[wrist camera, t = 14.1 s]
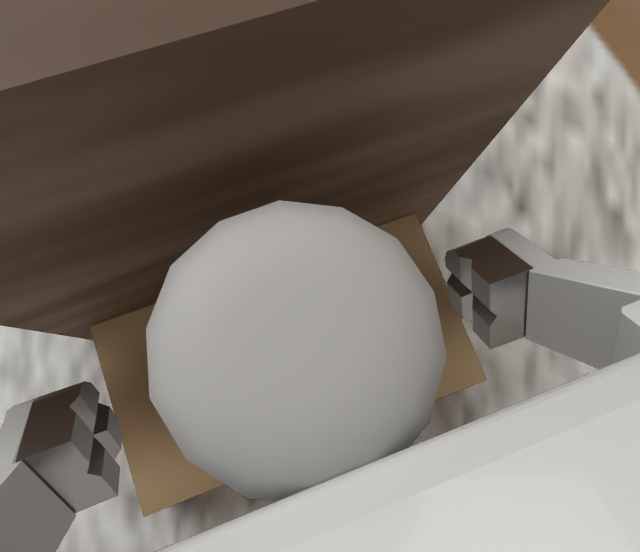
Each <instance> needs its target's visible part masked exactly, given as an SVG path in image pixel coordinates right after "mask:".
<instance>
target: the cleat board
mask: <svg viewBox="0 0 640 552" xmlns="http://www.w3.org/2000/svg"><path fill="white" fill-rule="evenodd" d="M608 2H609V0H0V325H2V326H8V327H15V328H21V329H27V330H33V331H40V332H46V333H52V334H58V335H65V336H71V337H77V338H83V339H90V340H93V339H94V343H95V346H96V350H97V353H98V357H99V361H100V364H101V368H102V371H103V375H104V378H105V382H106V385H107V389H108V392H109V396H110V400H111V403H112V407H113V410H114V414H115V416H116V418H117V420H118V422H119V425H120V430H121V435H122V442H123V446H124V449H125V453H126V456H127V460H128V463H129V467H130V471H131V474H132V478H133V481H134V485H135V488H136V492H137V495H138V499H139V503H140V506H141V510H142V513H143V517H145V516H147V515H150V514H152V513H155V512H157V511H160V510H162V509H165V508H167V507H170V506H172V505H175V504H177V503H180V502H182V501H185V500H187V499H190V498H192V497H195V496H197V495H200V494H202V493H205V492H207V491H210V490H212V489H215V488H217V487H220V486H222V485H225V484H223V483H222V482H220V481H219V480H217V479H216V478H214V477H213V476H211V475H209V474H208V473H206V472H205V471H203V470H202V469H200V468H199V467H197V466H196V465H194V464H193V463H191V462H190V461H188V460H186V458H185V457H184V455H183V453H182V452H181V450H180V448H179V447H178V445H177V443H176V442H175V440H174V438H173V437H172V435H171V433H170V432H169V430H168V428H167V427H166V425H165V423H164V422H163V420H162V418H161V417H160V415H159V413H158V412H157V410H156V408H155V407H154V405H153V403H152V402H151V400H150V398H149V379H148V360H147V341H146V327H147V325H148V322H149V320H150V317H151V314H152V312H153V309H154V307H155V304H156V302H157V299H158V296H159V294H160V291H161V289H162V286H163V284H164V281H165V278H166V276H167V273H168V271H169V268H170V266H171V265H172V264H173V263H174V262H175V261H176V260H177V259H178V258H180V257H181V256H182V255H183V254H184V253H185V252H186V251H187V250H188V249H189V248H190V247H192V246H193V245H194V244H195V243H196V242H197V241H198V240H199V239H200V238H201V237H202V236H204V235H205V234H206V233H207V232H208V231H209V230H210V229H211V228H212V227H213V226H214V225H216V224H217V223H218V222H219V221H222V220H224V219H227V218H230V217H233V216H236V215H239V214H242V213H244V212H247V211H250V210H253V209H256V208H259V207H262V206H264V205H267V204H270V203H273V202H276V201H279V200H281V201H290V202H299V203H308V204H317V205H326V206H335V207H343V208H344V209H346V210H348V211H350V212H351V213H353V214H355V215H357V216H358V217H360V218H362V219H364V220H366V221H367V222H369V223H371V224H373V225H374V226H376V227H378V228H380V229H381V230H383V231H385V232H387V233H389V234H390V235H392V236H394V237H396V238H397V239H398V240H399V242H400V243H401V244H402V246H403V247H404V249H405V250H406V252H407V253H408V255H409V256H410V257H411V259H412V260H413V262H414V263H415V265H416V266H417V268H418V269H419V270H420V272H421V273H422V275H423V276H424V278H425V279H426V281H427V282H428V283H429V285H430V286H431V288H432V289H433V291H434V293H435V299H436V304H437V309H438V314H439V319H440V324H441V329H442V334H443V339H444V344H445V349H446V354H447V359H446V362H445V366H444V370H443V373H442V377H441V381H440V384H439V388H438V391H437V395H436V399H435V400H437V399H440V398H442V397H445V396H447V395H450V394H452V393H455V392H457V391H460V390H462V389H465V388H467V387H470V386H472V385H475V384H477V383H480V382H482V381H485V380H487V379H486V377H485V375H484V372H483V370H482V368H481V365H480V363H479V361H478V358H477V356H476V354H475V351H474V349H473V347H472V344H471V342H470V340H469V337H468V335H467V333H466V330H465V328H464V326H463V323H462V321H461V319H460V316H459V314H458V313H457V312H456V310H455V308H454V307H453V305H452V303H451V300H450V297H449V294H448V288H447V286H446V283H445V281H444V279H443V276H442V274H441V272H440V269H439V267H438V265H437V262H436V260H435V258H434V255H433V253H432V251H431V248H430V246H429V244H428V241H427V239H426V236H425V234H424V232H423V229H422V227H421V225H420V224H422V223H423V222H424V221H425V220H426V218H427V217H428V216H429V215H430V214H431V212H432V211H433V210H434V209H435V208H436V206H437V205H438V204H439V203H440V202H441V200H442V199H443V198H444V197H445V196H446V195H447V193H448V192H449V191H450V190H451V189H452V187H453V186H454V185H455V184H456V183H457V181H458V180H459V179H460V178H461V177H462V175H463V174H464V173H465V172H466V171H467V170H468V168H469V167H470V166H471V165H472V164H473V162H474V161H475V160H476V159H477V158H478V156H479V155H480V154H481V153H482V152H483V150H484V149H485V148H486V147H487V146H488V145H489V143H490V142H491V141H492V140H493V139H494V137H495V136H496V135H497V134H498V133H499V131H500V130H501V129H502V128H503V127H504V126H505V124H506V123H507V122H508V121H509V120H510V118H511V117H512V116H513V115H514V114H515V112H516V111H517V110H518V109H519V108H520V106H521V105H522V104H523V103H524V102H525V101H526V99H527V98H528V97H529V96H530V95H531V93H532V92H533V91H534V90H535V89H536V87H537V86H538V85H539V84H540V83H541V81H542V80H543V79H544V78H545V77H546V76H547V74H548V73H549V72H550V71H551V70H552V68H553V67H554V66H555V65H556V64H557V62H558V61H559V60H560V59H561V58H562V56H563V55H564V54H565V53H566V52H567V51H568V49H569V48H570V47H571V46H572V45H573V43H574V42H575V41H576V40H577V39H578V37H579V36H580V35H581V34H582V33H583V32H584V30H585V29H586V28H587V27H588V26H589V24H590V23H591V22H592V21H593V20H594V18H595V17H596V16H597V15H598V13H599V12H600V11H601V10H602V9H603V8H604V6H605V5H606V4H607V3H608Z"/></svg>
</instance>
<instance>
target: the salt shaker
mask: <svg viewBox="0 0 640 552" xmlns="http://www.w3.org/2000/svg"><path fill="white" fill-rule="evenodd" d="M146 341H147V360H148V379H149V398H150V400H151V402H152V403H153V405H154V407H155V408H156V410H157V412H158V413H159V415H160V417H161V418H162V420H163V422H164V423H165V425H166V427H167V428H168V430H169V432H170V433H171V435H172V437H173V438H174V440H175V442H176V443H177V445H178V447H179V448H180V450H181V452H182V453H183V455H184V457H185V458H186V460H188V461H190V462H191V463H193V464H194V465H196V466H197V467H199V468H200V469H202V470H203V471H205V472H206V473H208V474H209V475H211V476H213V477H214V478H216V479H217V480H219V481H220V482H222V483H223V484H225V485H226V486H228V487H229V488H231V489H232V490H234V491H235V492H237V493H239V494H240V495H242V496H243V497H245V498H247V499H262V500H277V501H279V500H282V499H284V498H286V497H289V496H291V495H294V494H296V493H299V492H301V491H304V490H306V489H308V488H311V487H313V486H316V485H318V484H321V483H323V482H326V481H328V480H330V479H333V478H335V477H338V476H340V475H343V474H345V473H347V472H350V471H352V470H355V469H357V468H360V467H362V466H365V465H367V464H369V463H372V462H374V461H377V460H379V459H382V458H384V457H387V456H389V455H391V454H394V453H396V452H399V451H401V450H404V449H406V448H408V447H409V446H410V445H411V444H412V442H413V441H414V440H415V439H416V438H417V436H418V435H419V434H420V433H421V432H422V430H423V429H424V428H425V427H426V426H427V424H428V423H429V421H430V417H431V413H432V410H433V406H434V402H435V399H436V395H437V391H438V388H439V384H440V381H441V377H442V373H443V370H444V366H445V362H446V359H447V354H446V349H445V344H444V339H443V334H442V329H441V324H440V319H439V314H438V309H437V304H436V299H435V293H434V291H433V289H432V288H431V286H430V285H429V283H428V282H427V281H426V279H425V278H424V276H423V275H422V273H421V272H420V270H419V269H418V268H417V266H416V265H415V263H414V262H413V260H412V259H411V257H410V256H409V255H408V253H407V252H406V250H405V249H404V247H403V246H402V244H401V243H400V242H399V240H398V239H397V238H396V237H394V236H392V235H390V234H389V233H387V232H385V231H383V230H381V229H380V228H378V227H376V226H374V225H373V224H371V223H369V222H367V221H366V220H364V219H362V218H360V217H358V216H357V215H355V214H353V213H351V212H350V211H348V210H346V209H344V208H343V207H335V206H326V205H317V204H308V203H299V202H290V201H281V200H279V201H276V202H273V203H270V204H267V205H264V206H262V207H259V208H256V209H253V210H250V211H247V212H244V213H242V214H239V215H236V216H233V217H230V218H227V219H224V220H222V221H219V222H218V223H217V224H216V225H214V226H213V227H212V228H211V229H210V230H209V231H208V232H207V233H206V234H205V235H204V236H202V237H201V238H200V239H199V240H198V241H197V242H196V243H195V244H194V245H193V246H192V247H190V248H189V249H188V250H187V251H186V252H185V253H184V254H183V255H182V256H181V257H180V258H178V259H177V260H176V261H175V262H174V263H173V264H172V265H171V266H170V268H169V271H168V273H167V276H166V278H165V281H164V284H163V286H162V289H161V291H160V294H159V296H158V299H157V302H156V304H155V307H154V309H153V312H152V314H151V317H150V320H149V322H148V325H147V327H146Z"/></svg>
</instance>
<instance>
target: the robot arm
mask: <svg viewBox="0 0 640 552" xmlns="http://www.w3.org/2000/svg"><path fill="white" fill-rule="evenodd" d="M445 261H446V267H447V268H448V269H449V270H450V271H451V272H452V274H451V276H450V278H449V279H448V281H447V287H448V294H449V297H450V300H451V303H452V305H453V307H454V308H455V310H456V312H457V313H458V314H459V315H460V316H461V318H462V319H464V320H468V321H471V322H473V331H474V332H475V333H476V334H477V335H478V336H479V337H480V339H481V340H482V341H483V342H484V343H485V344H486V345H487V346H488V347H489V348H490V349H493V348H495V347H498V346H501V345H504V344H506V343H509V342H512V341H515V340H517V339H520V338H523V337H525V338H526V339H528V340H530V341H533V342H535V343H538V344H540V345H542V346H545V347H547V348H550V349H552V350H554V351H557V352H559V353H562V354H564V355H566V356H569V357H571V358H574V359H576V360H579V361H581V362H583V363H586V364H588V365H591V366H593V367H595V368H598V369H599V370H597V371H594V372H592V373H589V374H587V375H584V376H582V377H580V378H577V379H575V380H572V381H570V382H567V383H565V384H563V385H560V386H558V387H555V388H553V389H550V390H548V391H545V392H543V393H541V394H538V395H536V396H533V397H531V398H528V399H526V400H523V401H521V402H519V403H516V404H514V405H511V406H509V407H506V408H504V409H501V410H499V411H497V412H494V413H492V414H489V415H487V416H484V417H482V418H479V419H477V420H475V421H472V422H470V423H467V424H465V425H462V426H460V427H457V428H455V429H453V430H450V431H448V432H445V433H443V434H440V435H438V436H435V437H433V438H431V439H428V440H426V441H423V442H421V443H418V444H416V445H413V446H411V447H409V448H406V449H404V450H401V451H399V452H396V453H394V454H391V455H389V456H387V457H384V458H382V459H379V460H377V461H374V462H372V463H369V464H367V465H365V466H362V467H360V468H357V469H355V470H352V471H350V472H347V473H345V474H343V475H340V476H338V477H335V478H333V479H330V480H328V481H326V482H323V483H321V484H318V485H316V486H313V487H311V488H308V489H306V490H304V491H301V492H299V493H296V494H294V495H291V496H289V497H286V498H284V499H282V500H279V501H277V502H274V503H272V504H269V505H267V506H264V507H262V508H260V509H257V510H255V511H252V512H250V513H247V514H245V515H243V516H240V517H238V518H235V519H233V520H230V521H228V522H225V523H223V524H221V525H218V526H216V527H213V528H211V529H208V530H206V531H203V532H201V533H199V534H196V535H194V536H191V537H189V538H186V539H184V540H181V541H179V542H177V543H174V544H172V545H169V546H167V547H164V548H162V549H160V550H157V551H155V552H640V272H639V271H633V270H628V269H622V268H616V267H611V266H605V265H600V264H594V263H589V262H583V261H578V260H572V259H567V258H561V259H559V260H556V259H555V258H553V257H552V256H550V255H549V254H547V253H546V252H544V251H543V250H542V249H540V248H539V247H537V246H536V245H534V244H533V243H531V242H530V241H529V240H527V239H526V238H524V237H523V236H521V235H520V234H518V233H517V232H516V231H514V230H513V229H509V228H505V229H503V230H500V231H498V232H495V233H493V234H490V235H488V236H486V237H484V238H482V239H479V240H476V241H473V242H471V243H468V244H465V245H462V246H460V247H457V248H454V249H452V250H449V251H447V252H446V256H445ZM98 400H99V392H98V391H97V390H96V388H95V387H94V386H93V385H92V383H90V382H82V383H79V384H76V385H73V386H70V387H67V388H64V389H61V390H58V391H55V392H52V393H49V394H46V395H43V396H40V397H38V398H36V399H32V400H29V401H27V402H24V403H21V404H18V405H15V406H13V407H12V408H10V409H9V410H8V411H7V413H6V416H5V418H4V421H3V424H2V427H1V430H0V552H56V550H57V548H58V546H59V545H60V543H61V541H62V539H63V538H64V536H65V534H66V532H67V531H68V529H69V527H70V525H71V524H72V522H73V520H74V518H75V516H76V514H75V513H77V512H79V511H82V510H84V509H86V508H89V507H91V506H93V505H96V504H98V503H101V502H103V501H105V500H108V499H110V498H112V497H115V496H117V495H118V484H119V472H120V466H119V465H118V464H117V463H116V461H115V460H114V459H115V457H116V456H117V454H118V453H119V452H120V450H121V445H122V435H121V430H120V425H119V422H118V420H117V418H116V416H115V414H114V413H113V411H112V410H111V408H110V407H108V406H106V405H103V404H100V403H98Z"/></svg>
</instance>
